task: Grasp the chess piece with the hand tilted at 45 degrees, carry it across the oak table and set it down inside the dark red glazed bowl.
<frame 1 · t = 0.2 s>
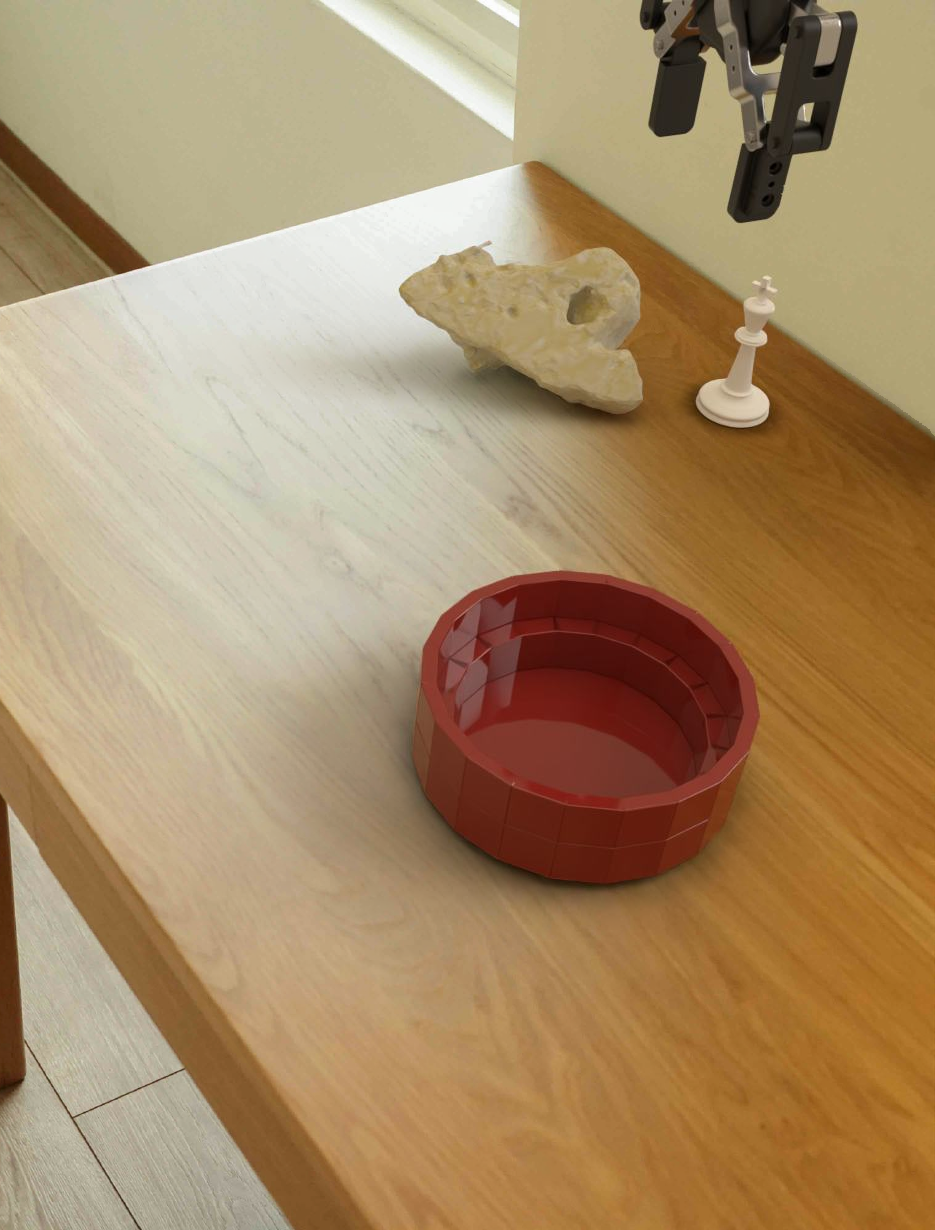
hand: (707, 173, 74), 26 cm above the table, tool pointing down, fingers open, 8 cm apart
bowl: (570, 761, 80), on the table
chess piece: (731, 409, 105), on the table
beige rock: (514, 387, 106), on the table
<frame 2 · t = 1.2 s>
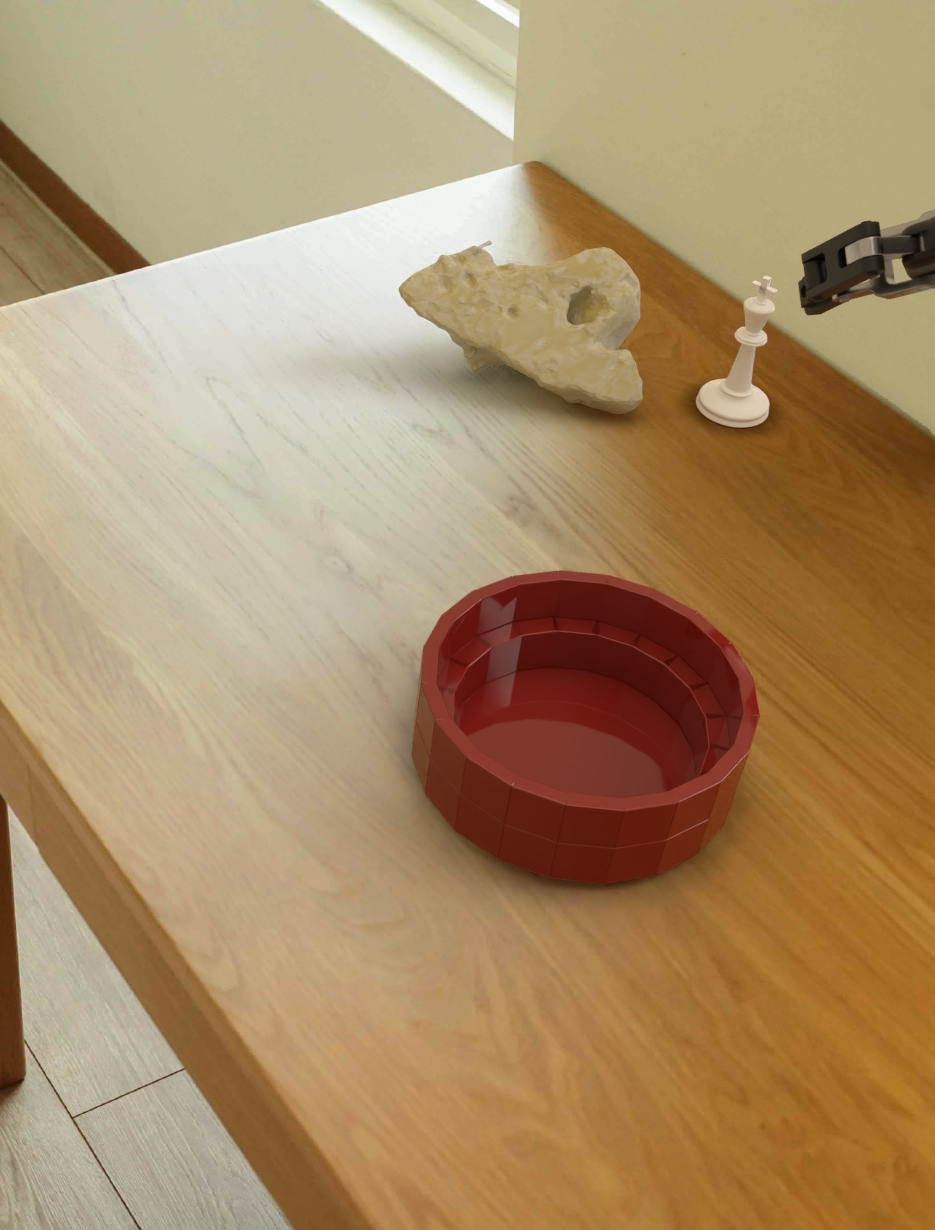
hand: (877, 292, 86), 16 cm above the table, tool tilted 45°, fingers open, 8 cm apart
nothing on the table moved.
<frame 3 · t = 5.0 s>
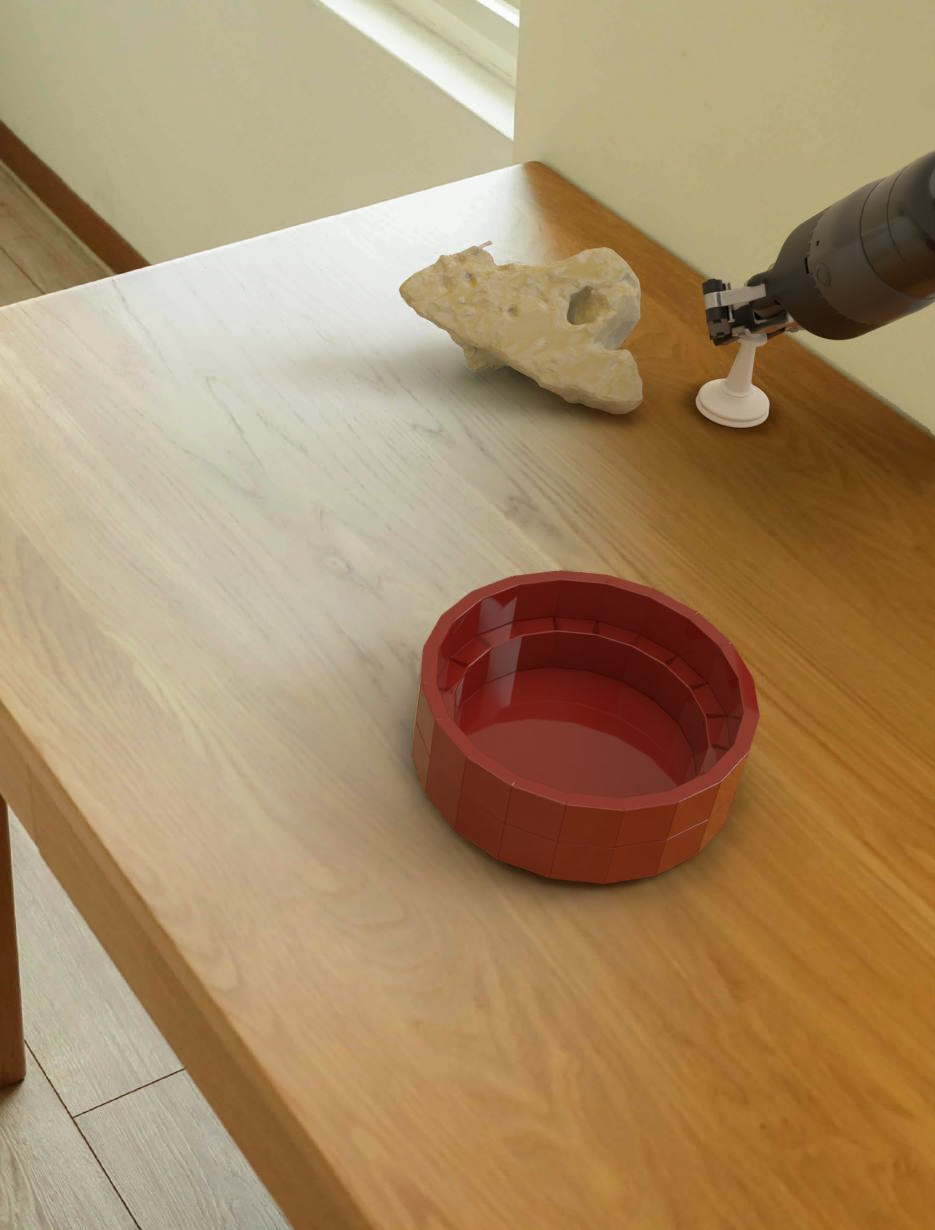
hand: (735, 328, 103), 5 cm above the table, tool tilted 45°, fingers closed on chess piece
chess piece: (731, 409, 105), on the table, touching gripper
everything else where it was.
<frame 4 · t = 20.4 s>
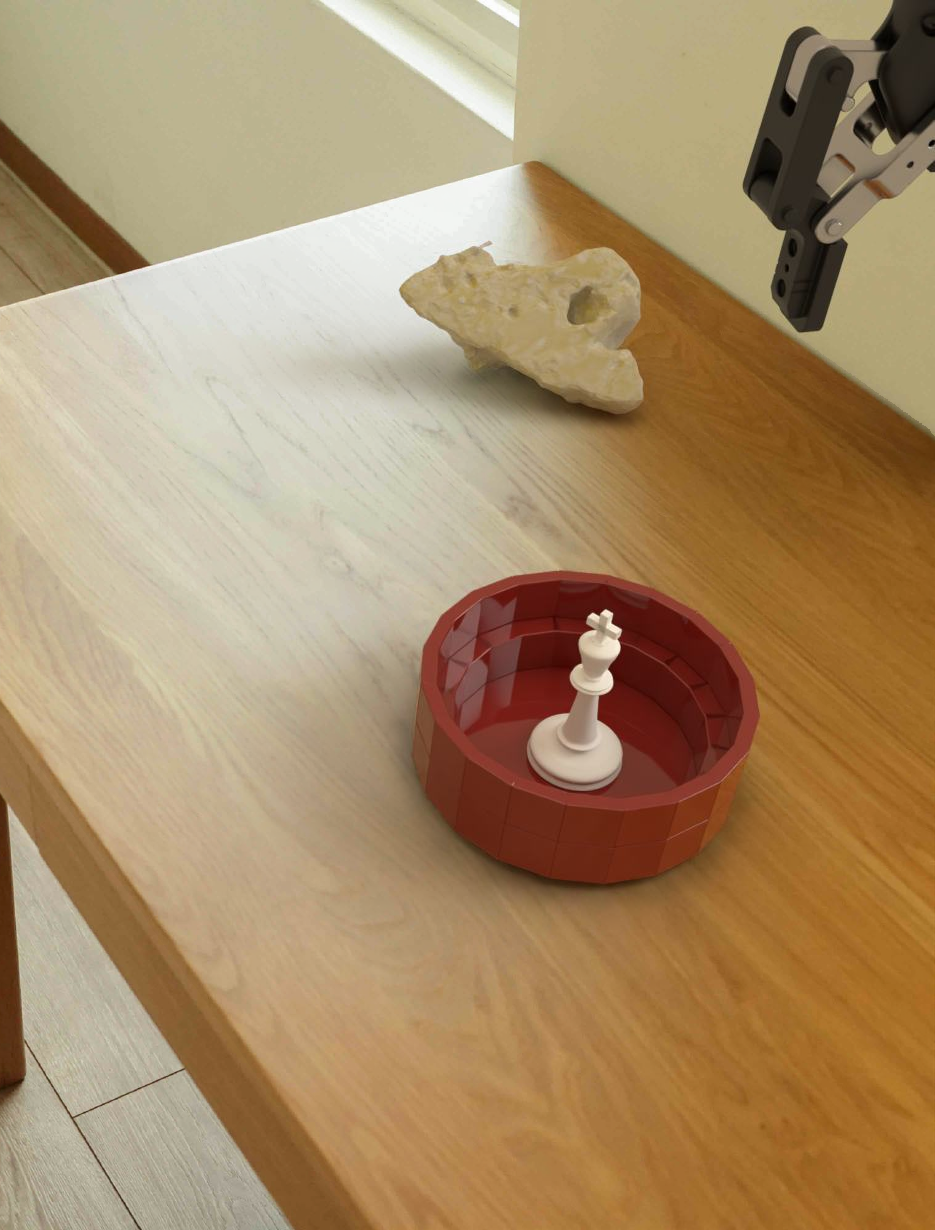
hand: (903, 311, 57), 30 cm above the table, tool pointing down, fingers open, 8 cm apart
chess piece: (573, 758, 80), resting on bowl
everything else where it was.
at the end: chess piece inside the target area in the bowl (0.1 cm from its centre), point 0.4 cm above the bowl's base; the gripper is holding nothing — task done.
